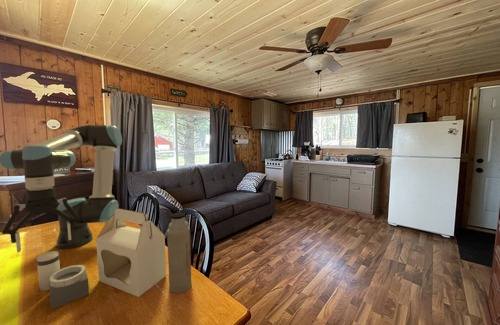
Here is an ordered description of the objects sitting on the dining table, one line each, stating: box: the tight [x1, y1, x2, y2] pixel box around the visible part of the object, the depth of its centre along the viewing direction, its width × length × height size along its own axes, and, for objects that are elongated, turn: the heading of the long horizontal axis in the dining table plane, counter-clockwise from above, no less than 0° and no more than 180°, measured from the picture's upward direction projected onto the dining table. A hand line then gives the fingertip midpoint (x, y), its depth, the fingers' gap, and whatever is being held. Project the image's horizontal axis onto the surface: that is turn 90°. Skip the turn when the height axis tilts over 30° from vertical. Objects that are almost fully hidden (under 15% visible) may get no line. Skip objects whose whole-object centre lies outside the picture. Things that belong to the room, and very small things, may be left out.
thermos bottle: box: [166, 212, 192, 294], centre depth 80 cm, size 8×8×28 cm
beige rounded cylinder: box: [36, 250, 61, 292], centre depth 81 cm, size 6×6×12 cm
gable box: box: [95, 207, 167, 298], centre depth 84 cm, size 22×13×28 cm, turn 67°
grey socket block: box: [48, 264, 90, 310], centre depth 77 cm, size 10×10×8 cm
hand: (45, 244), depth 80 cm, fingers open, 13 cm apart
